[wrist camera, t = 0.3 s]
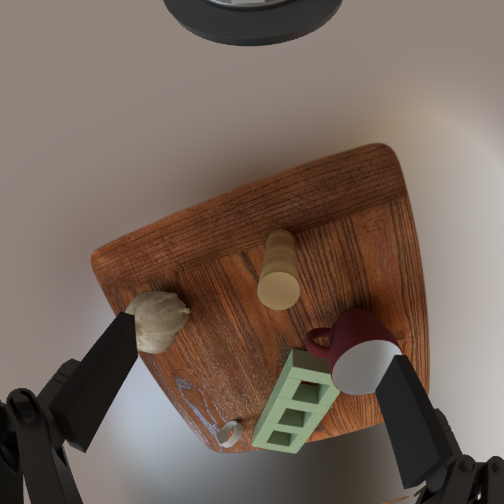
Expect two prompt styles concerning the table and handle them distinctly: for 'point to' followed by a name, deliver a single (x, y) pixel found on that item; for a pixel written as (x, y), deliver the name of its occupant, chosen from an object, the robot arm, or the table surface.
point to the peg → (279, 272)
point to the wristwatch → (234, 438)
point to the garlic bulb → (157, 320)
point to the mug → (355, 351)
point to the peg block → (295, 403)
